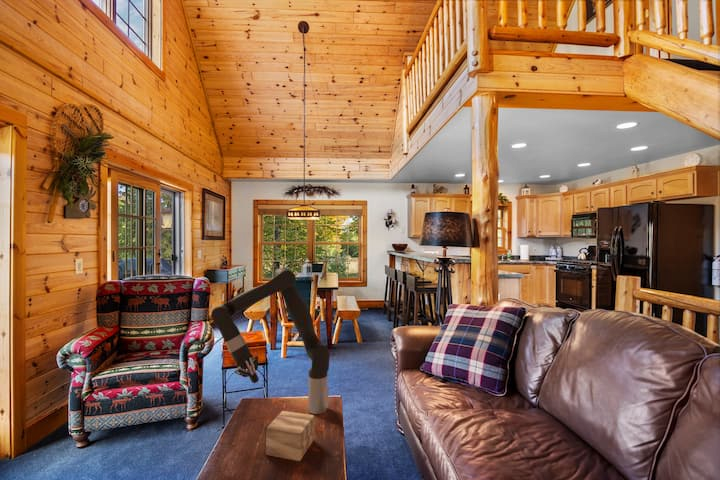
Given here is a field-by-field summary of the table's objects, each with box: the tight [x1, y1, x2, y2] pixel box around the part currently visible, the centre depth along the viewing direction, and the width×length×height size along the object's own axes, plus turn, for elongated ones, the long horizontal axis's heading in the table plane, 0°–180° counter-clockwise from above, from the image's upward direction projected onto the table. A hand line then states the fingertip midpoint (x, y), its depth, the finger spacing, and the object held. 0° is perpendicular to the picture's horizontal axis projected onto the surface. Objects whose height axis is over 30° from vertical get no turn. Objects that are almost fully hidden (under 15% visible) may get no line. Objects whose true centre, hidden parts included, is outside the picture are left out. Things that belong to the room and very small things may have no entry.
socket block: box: [264, 410, 315, 462], centre depth 137 cm, size 14×15×10 cm
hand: (256, 382), depth 147 cm, fingers closed
